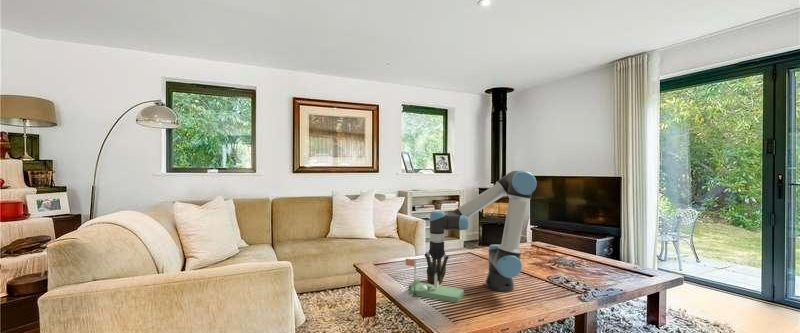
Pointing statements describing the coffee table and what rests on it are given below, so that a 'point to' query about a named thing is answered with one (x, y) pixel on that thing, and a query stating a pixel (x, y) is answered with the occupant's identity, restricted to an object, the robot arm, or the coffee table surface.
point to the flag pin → (413, 263)
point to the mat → (436, 292)
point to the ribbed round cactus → (430, 275)
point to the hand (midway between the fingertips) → (436, 286)
